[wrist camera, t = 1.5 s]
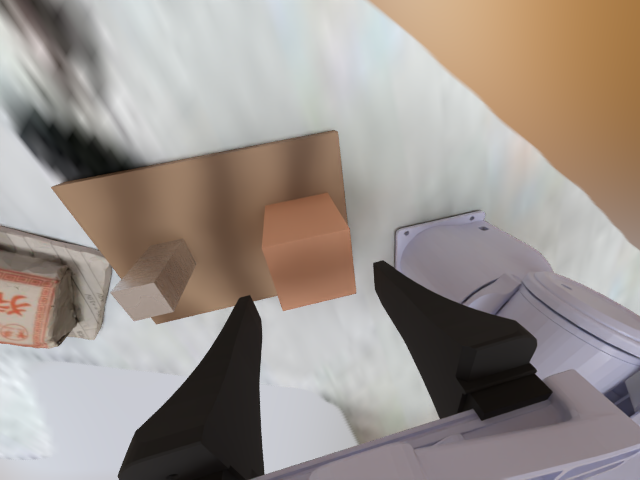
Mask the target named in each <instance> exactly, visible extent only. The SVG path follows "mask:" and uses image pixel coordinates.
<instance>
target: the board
mask: <svg viewBox="0 0 640 480" xmlns="http://www.w3.org/2000/svg"><path fill="white" fill-rule="evenodd" d="M51 188H52V189H53V191H54V192H55V193H56V195H57V196H58V197H59V199H60V200H61V201H62V202H63V204H64V205H65V206H66V208H67V209H68V210H69V212H70V213H71V214H72V215H73V217H74V218H75V219H76V221H77V222H78V223H79V225H80V226H81V227H82V228H83V230H84V231H85V232H86V234H87V235H88V236H89V238H90V239H91V240H92V241H93V243H94V244H95V245H96V247H97V248H98V249H99V251H100V252H101V253H102V254H103V256H104V257H105V258H106V260H107V261H108V262H109V264H110V265H111V266H112V267H113V269H114V270H115V271H116V273H117V274H118V275H119V277H120V278H121V279H122V278H123V277H124V276H125V275H126V274H127V272H128V271H129V270H130V269H131V268H132V267H133V266H134V264H135V263H136V262H137V261H138V260H139V259H140V257H141V256H142V255H143V254H144V253H145V252H146V250H147V249H148V248H149V247H150V246H151V245H155V244H160V243H165V242H169V241H174V240H179V239H184V241H185V243H186V244H187V246H188V248H189V250H190V252H191V254H192V256H193V258H194V260H195V261H196V263H197V264H196V266H195V268H194V270H193V273H192V275H191V277H190V279H189V281H188V283H187V285H186V287H185V289H184V291H183V294H182V296H181V298H180V300H179V302H178V304H177V306H176V308H175V310H174V312H171V313H167V314H162V315H158V316H154V317H151V318H152V319H153V321H154V322H155V323H156V324H160V323H164V322H168V321H173V320H177V319H181V318H185V317H189V316H194V315H198V314H202V313H206V312H211V311H215V310H219V309H223V308H227V307H232V306H235V305H236V303H237V301H238V299H239V298H240V297H244V296H248V295H250V296H251V298H252V300H253V301H257V300H261V299H265V298H270V297H274V296H278V295H277V292H276V289H275V286H274V283H273V280H272V277H271V274H270V271H269V268H268V265H267V262H266V259H265V256H264V254H263V251H262V238H263V226H264V213H265V206H266V205H271V204H276V203H281V202H285V201H290V200H295V199H300V198H304V197H309V196H314V195H319V194H323V193H328V194H329V196H330V197H331V199H332V201H333V202H334V204H335V206H336V207H337V209H338V210H339V212H340V214H341V215H342V217H343V219H344V220H345V222H346V224H347V225H348V222H347V213H346V203H345V194H344V184H343V175H342V166H341V156H340V147H339V137H338V132H337V131H335V130H333V131H328V132H323V133H317V134H312V135H307V136H302V137H297V138H291V139H286V140H281V141H276V142H271V143H265V144H260V145H255V146H250V147H245V148H239V149H234V150H229V151H224V152H219V153H213V154H208V155H203V156H198V157H193V158H187V159H182V160H177V161H172V162H167V163H162V164H156V165H151V166H146V167H141V168H136V169H130V170H125V171H120V172H115V173H110V174H104V175H99V176H94V177H89V178H84V179H78V180H73V181H68V182H64V183H61V184H58V185H56V186H53V187H51Z"/></svg>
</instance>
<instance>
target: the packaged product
mask: <svg viewBox="0 0 640 480" xmlns="http://www.w3.org/2000/svg"><path fill="white" fill-rule="evenodd" d="M111 273H112V266H111V265H110V264H109V262H108V261H107V260H106V258H105V257H104V256H103V254H102V253H101V252H100V251H99V250H96V249H92V248H88V247H83V246H78V245H73V244H69V243H64V242H59V241H54V240H50V239H47V238H44V237H41V236H37V235H33V234H29V233H26V232H22V231H18V230H14V229H11V228H7V227H3V226H0V343H2V344H12V345H18V346H24V347H34V348H48V349H49V348H53V347H57V346H59V345H60V344H61V343H62V342H63V341H64V340H65V338H66V337H67V336H68V337H77V338H84V339H88V340H94V339H95V338H96V336H97V334H98V332H99V330H100V328H101V325H102V319H103V314H104V308H105V303H106V298H107V293H108V288H109V283H110V279H111Z"/></svg>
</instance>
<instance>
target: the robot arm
mask: <svg viewBox="0 0 640 480" xmlns="http://www.w3.org/2000/svg"><path fill="white" fill-rule="evenodd" d="M470 217H471V218H470ZM484 219H485V212H483V211H476V212H472V213H467V214H463V215H458V216H454V217H449V218H445V219H441V220H436V221H432V222H427V223H423V224H418V225H414V226H410V227H405V228H401V229H398V230H397V232H396V249H395V268H393V267H392V266H391V265H389V264H388V263H386V262H385V261H379V262H375V263H373V267H374V283H375V290H376V293H377V295H378V297H379V299H380V301H381V303H382V305H383V307H384V309H385V310H386V312H387V313H388V315H389V317H390V318H391V320H392V322H393V323H394V325H395V326H396V328H397V330H398V331H399V333H400V334H401V336H402V338H403V340H404V341H405V343H406V345H407V347H408V349H409V351H410V353H411V355H412V357H413V359H414V362H415V364H416V366H417V368H418V370H419V372H420V374H421V376H422V379H423V381H424V383H425V385H426V388H427V390H428V392H429V394H430V397H431V399H432V401H433V404H434V406H435V408H436V411H437V413H438V415H439V418H440V419H439V420H436V421H433V422H430V423H427V424H423V425H420V426H417V427H414V428H411V429H408V430H404V431H401V432H398V433H395V434H392V435H389V436H385V437H382V438H379V439H376V440H373V441H370V442H366V443H363V444H360V445H357V446H354V447H351V448H348V449H345V450H341V451H338V452H335V453H332V454H329V455H326V456H322V457H319V458H316V459H313V460H310V461H306V462H303V463H300V464H297V465H294V466H291V467H288V468H285V469H281V470H278V471H275V472H272V473H269V474H266V475H265V474H264V462H263V450H262V436H261V418H260V392H259V379H260V363H261V348H262V324H261V318H260V316H259V313H258V311H257V309H256V307H255V304H254V302H253V300H252V298H251V296H250V295H248V296H244V297H240V298H239V299H238V301H237V303H236V305H235V307H234V309H233V310H232V312H231V314H230V316H229V318H228V320H227V322H226V323H225V325H224V327H223V329H222V330H221V332H220V334H219V335H218V337H217V339H216V340H215V342H214V343H213V345H212V347H211V348H210V350H209V351H208V352H207V354H206V355H205V357H204V358H203V359H202V361H201V362H200V364H199V365H198V366H197V367H196V369H195V370H194V371H193V372H192V373H191V375H190V376H189V377H188V378H187V380H186V381H185V382H184V383H183V384H182V385H181V387H180V388H179V389H178V390H177V391H176V392H175V393H174V394H173V395H172V396H171V397H170V399H169V400H167V402H166V403H165V404H164V405H163V406H162V407H161V408H160V409H159V410H158V411H157V412H155V414H153V415H152V416H151V417H150V418H149V419H148V420H147V421H146V422H145V423H144V424H143V425H142V426H141V427H140V428H139V429H137V430H136V432H135V434H134V436H133V438H132V441H131V443H130V446H129V448H128V450H127V453H126V456H125V458H124V461H123V463H122V466H121V468H120V471H119V474H118V478H119V480H640V316H638V315H637V314H635V313H634V312H632V311H630V310H629V309H627V308H626V307H624V306H622V305H620V304H619V303H617V302H615V301H613V300H612V299H610V298H608V297H606V296H604V295H602V294H600V293H598V292H596V291H594V290H593V289H590V288H588V287H586V286H584V285H582V284H580V283H578V282H576V281H573V280H571V279H569V278H566V277H564V276H561V275H559V274H556V273H554V272H553V269H552V268H551V266H550V264H549V263H548V261H547V260H546V259H545V258H544V257H543V255H542V254H541V253H539V252H538V251H537V250H536V249H534V248H533V247H531V246H529V245H527V244H526V243H524V242H522V241H520V240H518V239H517V238H515V237H513V236H511V235H509V234H508V233H506V232H504V231H502V230H500V229H498V228H497V227H495V226H493V225H491V224H489V223H488V222H486V221H484ZM406 231H407V233H406V234H404V233H405V232H406Z"/></svg>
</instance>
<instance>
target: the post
mask: <svg viewBox="0 0 640 480" xmlns="http://www.w3.org/2000/svg"><path fill="white" fill-rule="evenodd" d="M196 264H197V263H196V261H195V260H194V258H193V256H192V254H191V252H190V250H189V248H188V246H187V244H186V243H185V241H184V239H179V240H174V241H169V242H165V243H160V244H155V245H151V246H150V247H149V248H148V249H147V250H146V252H145V253H144V254H143V255H142V256H141V257H140V259H139V260H138V261H137V262H136V263H135V264H134V266H133V267H132V268H131V269H130V270H129V271H128V272H127V274H126V275H125V276H124V277H123V278H122V279H121V281H120V282H119V283H118V284H117V285H116V286H115V288H114V289H113V290H112V291H111V292H110V293H111V294H112V295H113V297H114V298H115V299H116V300H117V301H118V303H119V304H120V305H121V306H122V307H123V309H124V310H125V311H126V312H127V313H128V315H129V316H130V317H131V318H132V319H133V321H137V320H141V319H145V318H150V317H154V316H158V315H162V314H167V313H171V312H174V310H175V308H176V306H177V304H178V302H179V300H180V298H181V296H182V294H183V291H184V289H185V287H186V285H187V283H188V281H189V279H190V277H191V275H192V273H193V270H194V268H195V266H196Z"/></svg>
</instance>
